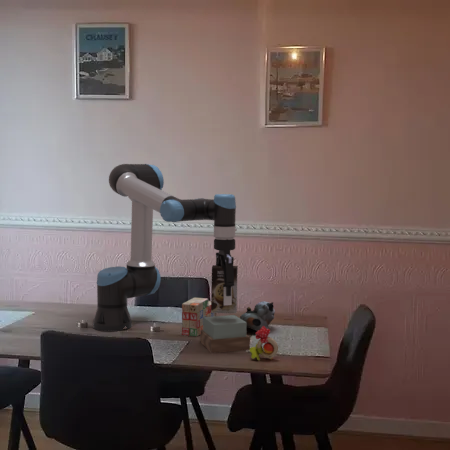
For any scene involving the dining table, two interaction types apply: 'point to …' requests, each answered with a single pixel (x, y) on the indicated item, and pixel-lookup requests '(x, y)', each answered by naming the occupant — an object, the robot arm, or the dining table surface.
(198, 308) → the stack of blocks
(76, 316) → the dining table surface
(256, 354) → the bird rattle
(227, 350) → the walnut slab
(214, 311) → the coffee box
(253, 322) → the lucky cat figurine
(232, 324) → the grey-green block
